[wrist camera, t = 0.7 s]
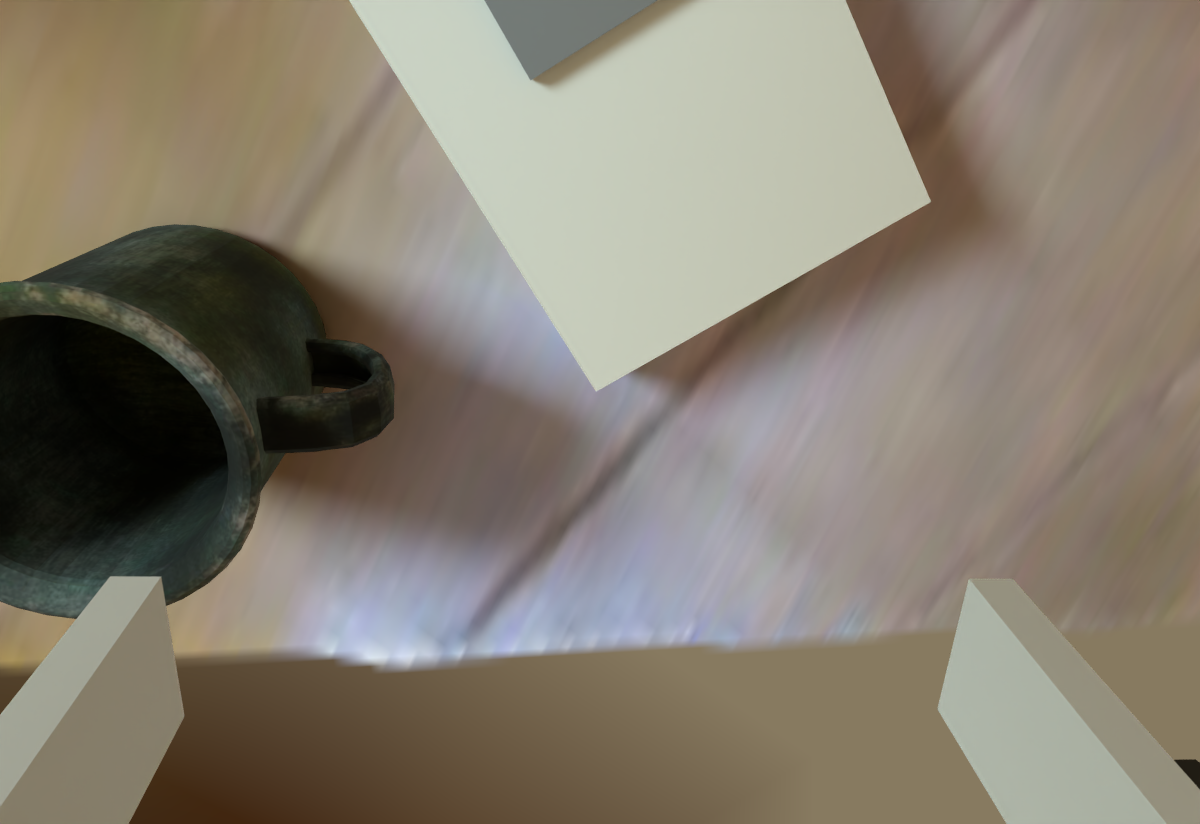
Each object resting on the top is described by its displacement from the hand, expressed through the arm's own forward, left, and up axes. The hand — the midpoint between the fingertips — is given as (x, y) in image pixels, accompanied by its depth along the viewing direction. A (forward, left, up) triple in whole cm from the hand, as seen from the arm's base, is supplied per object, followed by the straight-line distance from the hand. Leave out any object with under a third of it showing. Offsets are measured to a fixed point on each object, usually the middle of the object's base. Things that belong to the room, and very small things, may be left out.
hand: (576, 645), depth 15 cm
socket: (-8, +7, -24) cm, 26 cm away
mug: (-5, -12, -24) cm, 28 cm away
